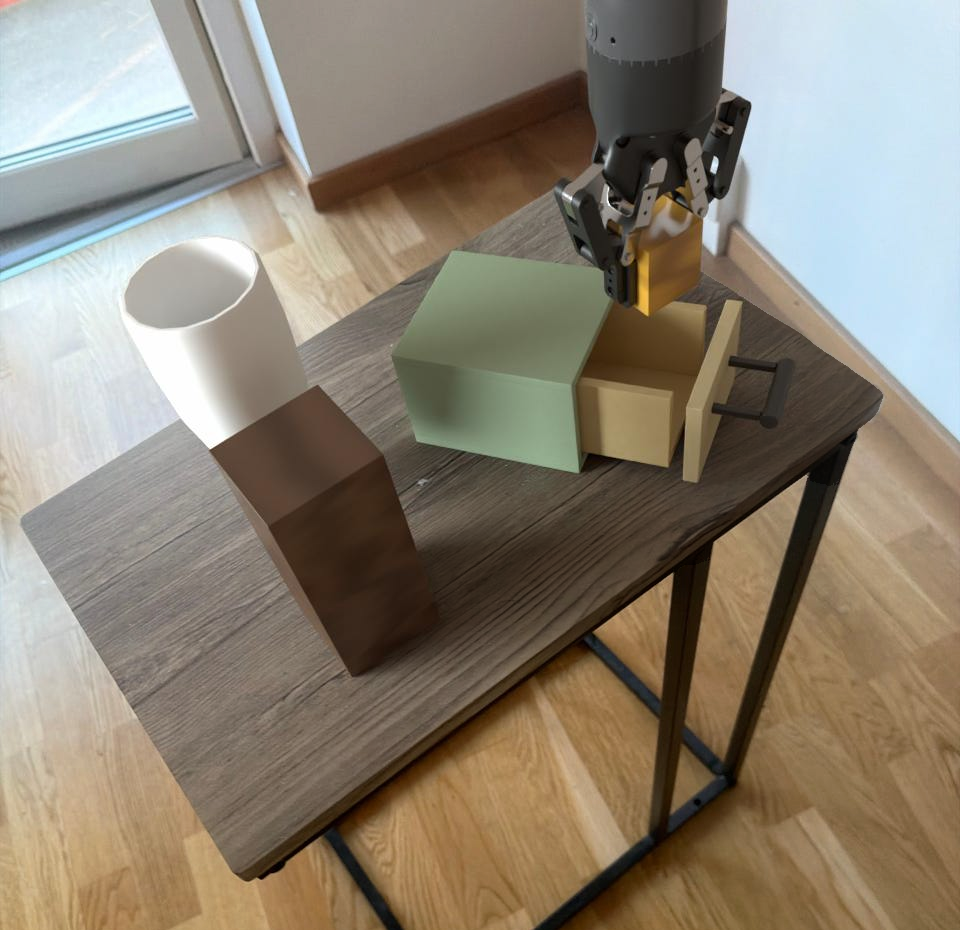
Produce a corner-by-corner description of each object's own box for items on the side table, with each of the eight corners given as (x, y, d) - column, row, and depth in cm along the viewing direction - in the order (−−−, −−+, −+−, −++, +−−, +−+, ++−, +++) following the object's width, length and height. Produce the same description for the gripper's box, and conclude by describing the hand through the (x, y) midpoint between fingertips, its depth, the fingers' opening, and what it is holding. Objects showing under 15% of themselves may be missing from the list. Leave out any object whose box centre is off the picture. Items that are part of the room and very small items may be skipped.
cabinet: (626, 365, 80) (623, 270, 72) (579, 474, 75) (571, 385, 67) (471, 340, 85) (452, 249, 77) (416, 442, 79) (390, 355, 71)
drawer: (795, 388, 75) (810, 309, 68) (762, 495, 70) (774, 422, 63) (577, 354, 81) (571, 279, 74) (533, 451, 76) (522, 379, 69)
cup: (376, 506, 76) (291, 288, 58) (262, 567, 75) (139, 362, 57) (325, 431, 82) (233, 209, 64) (218, 486, 80) (93, 275, 62)
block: (655, 254, 66) (656, 189, 62) (699, 284, 64) (703, 219, 60) (604, 285, 65) (602, 222, 61) (648, 317, 63) (648, 253, 59)
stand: (385, 552, 74) (317, 383, 59) (441, 617, 70) (383, 454, 55) (300, 608, 72) (207, 449, 57) (352, 678, 68) (267, 527, 53)
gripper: (595, 101, 47) (606, 362, 61) (805, -19, 50) (769, 257, 64) (507, 50, 50) (537, 307, 65) (707, -59, 53) (694, 211, 68)
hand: (652, 281), depth 64 cm, fingers closed on block, 4 cm apart
